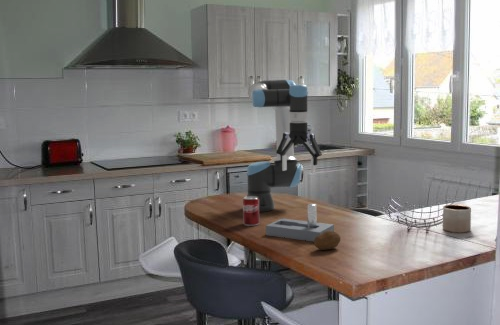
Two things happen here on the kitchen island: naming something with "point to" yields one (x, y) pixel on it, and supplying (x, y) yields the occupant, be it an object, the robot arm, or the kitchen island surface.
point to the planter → (456, 218)
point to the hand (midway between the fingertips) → (298, 171)
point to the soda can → (251, 211)
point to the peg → (312, 215)
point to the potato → (327, 240)
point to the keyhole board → (296, 229)
